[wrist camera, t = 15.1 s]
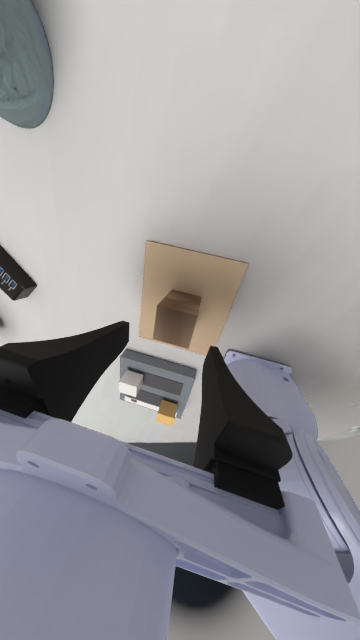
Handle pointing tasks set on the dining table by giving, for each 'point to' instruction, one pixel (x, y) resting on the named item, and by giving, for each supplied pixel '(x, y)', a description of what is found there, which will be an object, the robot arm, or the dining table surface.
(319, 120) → the dining table surface
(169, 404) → the switch tab
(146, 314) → the mat
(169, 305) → the block
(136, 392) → the switch tab
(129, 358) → the switch panel
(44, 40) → the green cup
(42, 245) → the dining table surface
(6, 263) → the multiport hub
